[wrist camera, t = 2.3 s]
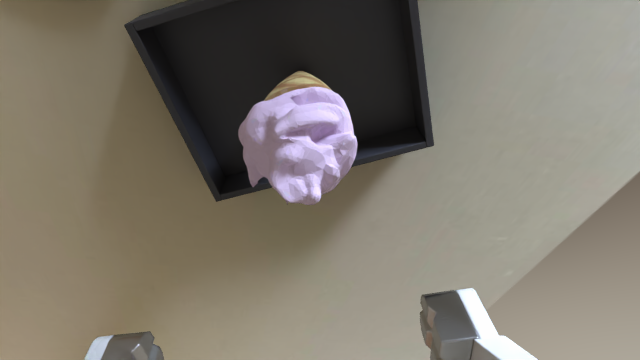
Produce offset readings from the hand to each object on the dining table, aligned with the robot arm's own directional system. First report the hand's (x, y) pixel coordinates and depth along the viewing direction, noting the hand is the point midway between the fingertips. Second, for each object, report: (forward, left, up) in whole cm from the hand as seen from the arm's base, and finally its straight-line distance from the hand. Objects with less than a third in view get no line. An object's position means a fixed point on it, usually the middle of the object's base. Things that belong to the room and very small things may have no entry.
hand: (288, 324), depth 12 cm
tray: (0, 0, -24) cm, 24 cm away
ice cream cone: (0, 0, -24) cm, 24 cm away
